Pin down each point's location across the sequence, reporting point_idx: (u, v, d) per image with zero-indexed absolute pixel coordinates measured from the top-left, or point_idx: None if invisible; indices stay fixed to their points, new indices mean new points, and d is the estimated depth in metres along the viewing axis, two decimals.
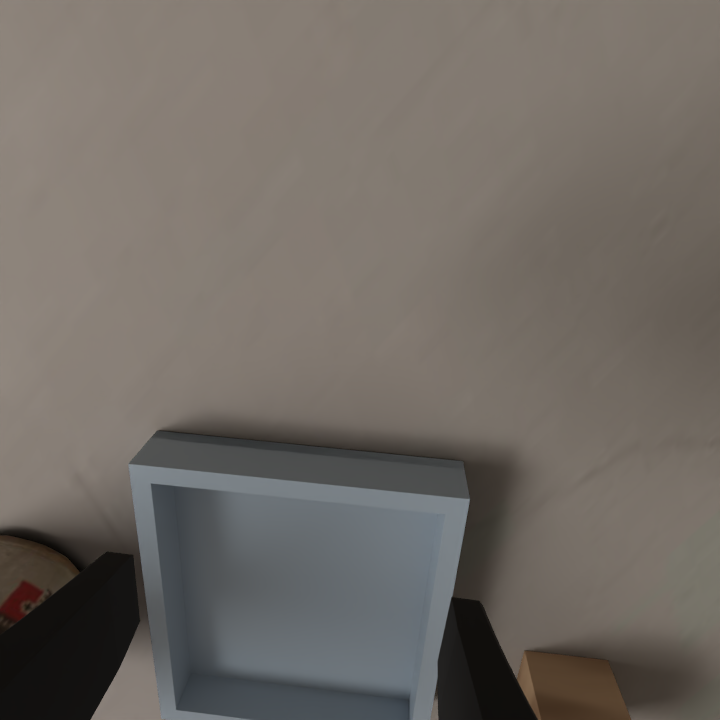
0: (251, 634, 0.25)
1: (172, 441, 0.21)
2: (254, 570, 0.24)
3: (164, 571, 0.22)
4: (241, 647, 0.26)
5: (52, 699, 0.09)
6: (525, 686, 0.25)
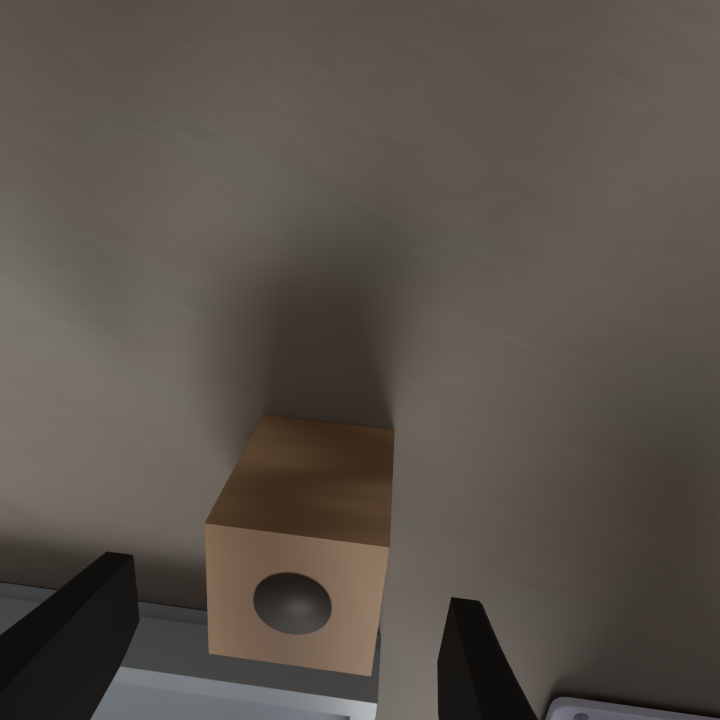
0: None
1: None
2: None
3: None
4: None
5: (52, 699, 0.09)
6: None
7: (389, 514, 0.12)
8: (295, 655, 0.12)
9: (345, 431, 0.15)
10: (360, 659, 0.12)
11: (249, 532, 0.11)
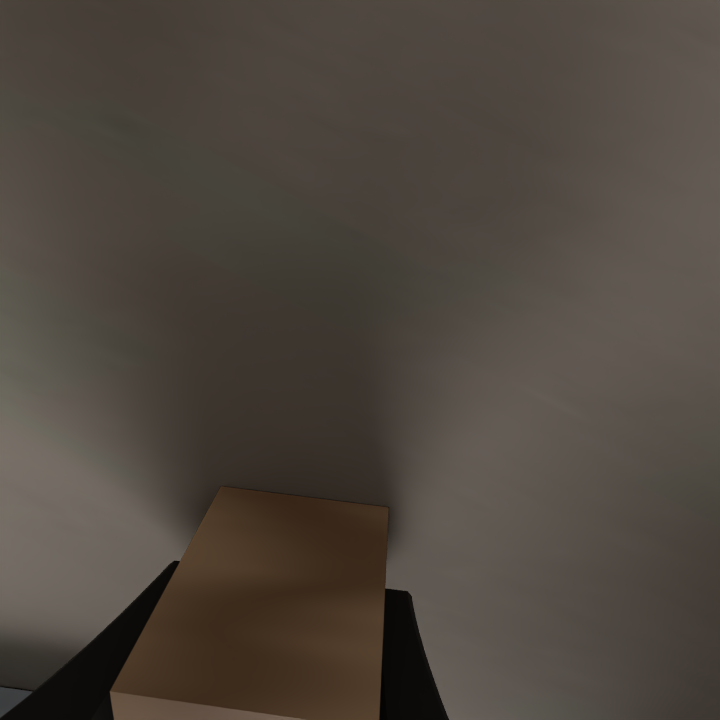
0: None
1: None
2: None
3: None
4: None
5: None
6: None
7: (379, 661, 0.08)
8: None
9: (324, 513, 0.12)
10: None
11: (176, 706, 0.08)
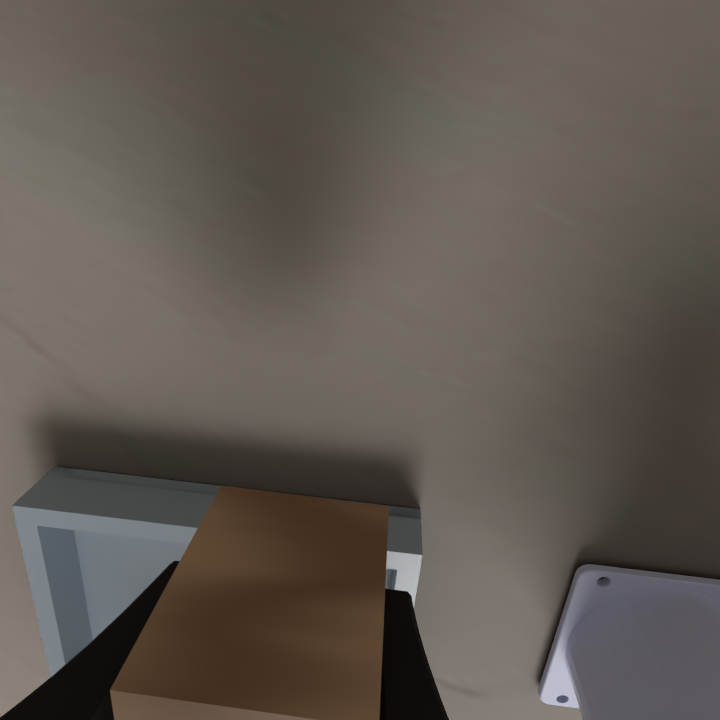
0: None
1: None
2: None
3: None
4: None
5: None
6: None
7: (380, 660, 0.08)
8: None
9: (325, 512, 0.12)
10: None
11: (176, 704, 0.08)
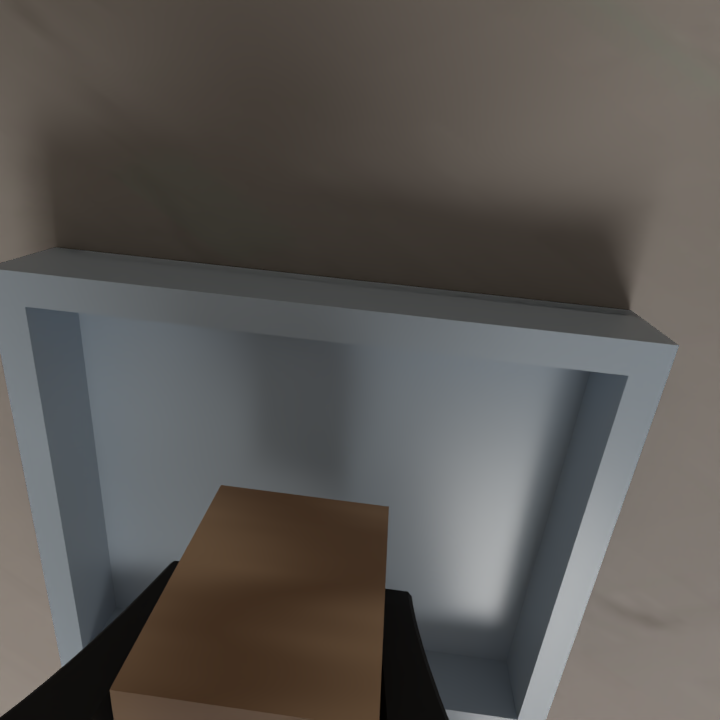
0: (417, 574, 0.16)
1: None
2: None
3: None
4: (447, 590, 0.16)
5: None
6: None
7: (380, 661, 0.08)
8: None
9: (325, 512, 0.12)
10: None
11: (176, 704, 0.08)
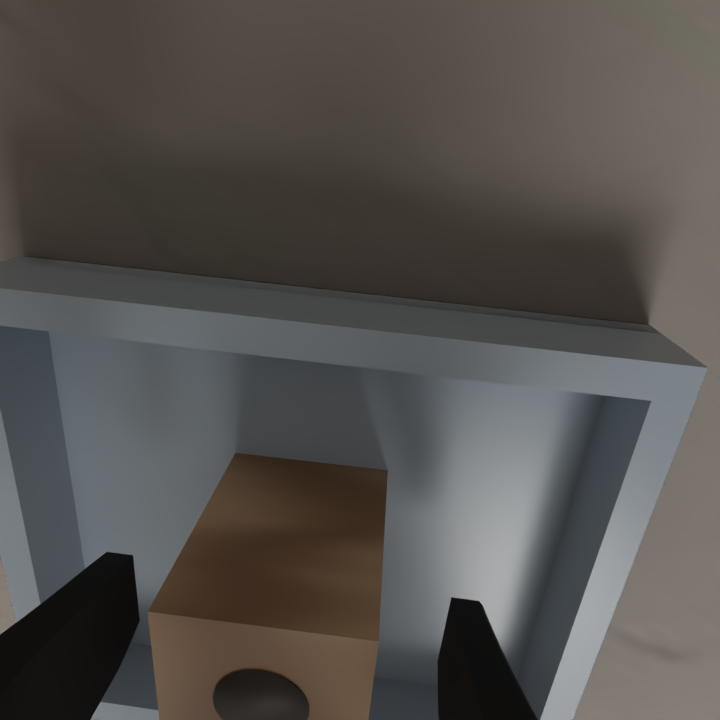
0: (417, 605, 0.15)
1: None
2: None
3: None
4: None
5: (52, 699, 0.09)
6: None
7: (379, 591, 0.10)
8: None
9: (330, 474, 0.13)
10: None
11: (204, 623, 0.09)
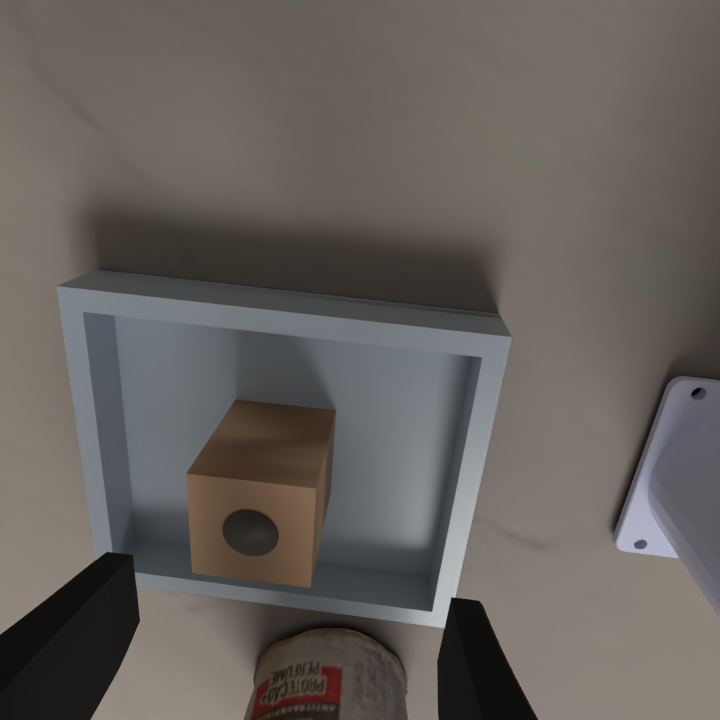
0: (360, 508, 0.22)
1: None
2: None
3: (229, 578, 0.22)
4: (383, 520, 0.22)
5: (52, 699, 0.09)
6: None
7: (320, 468, 0.17)
8: (255, 572, 0.17)
9: (297, 412, 0.20)
10: (301, 574, 0.17)
11: (218, 480, 0.16)
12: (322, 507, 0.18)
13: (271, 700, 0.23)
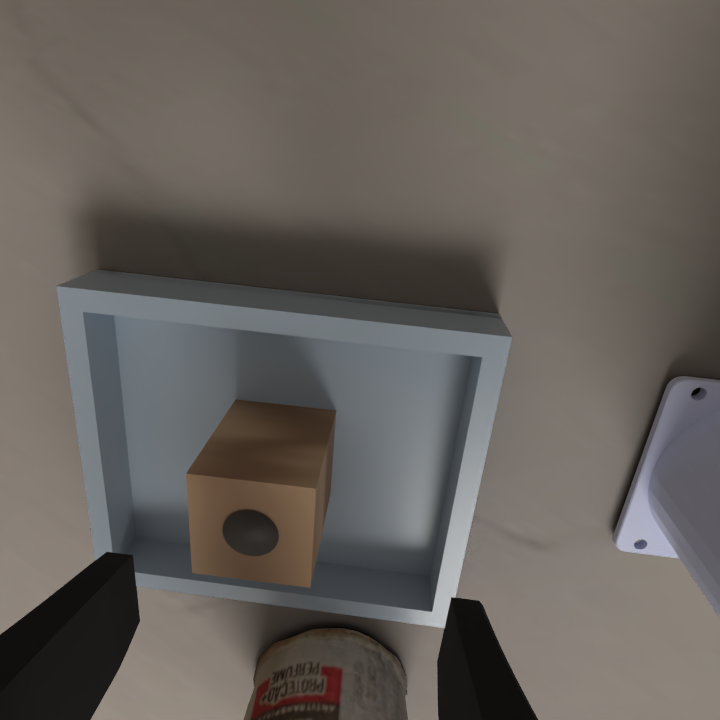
0: (360, 508, 0.22)
1: None
2: None
3: (229, 578, 0.22)
4: (383, 520, 0.22)
5: (52, 699, 0.09)
6: None
7: (320, 468, 0.17)
8: (255, 572, 0.17)
9: (297, 412, 0.20)
10: (301, 574, 0.17)
11: (218, 480, 0.16)
12: (322, 507, 0.18)
13: (271, 700, 0.23)
